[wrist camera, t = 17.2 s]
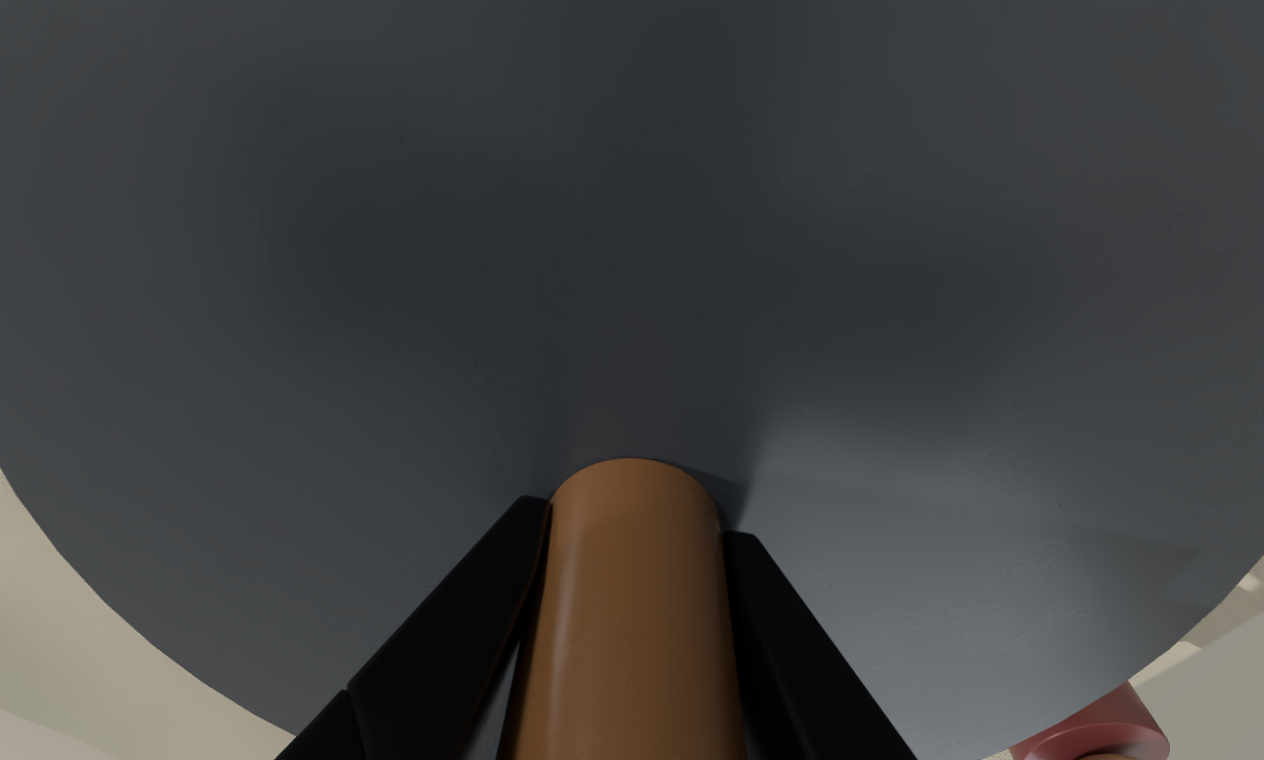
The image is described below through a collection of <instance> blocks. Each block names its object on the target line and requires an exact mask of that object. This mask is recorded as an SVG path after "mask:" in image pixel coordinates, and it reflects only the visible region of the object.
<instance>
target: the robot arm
mask: <svg viewBox="0 0 1264 760" xmlns="http://www.w3.org/2000/svg"><path fill="white" fill-rule="evenodd" d="M550 507H551V502H550V500H548V499H546V498H541V497H535V496H529V495H522V496H520V497H519V498H518V499H516V501H515V502H514V503H513V504H512V505H511V506H510V507H509V508H508V509H507V510H506V511H505V512H504V514H503V515H502V516H501V517H500V518H499V519H498V520H497V521H496V522H495V523H494V524H493V526H492V527H491V528H490V529H489V530H488V531H487V532H486V533H485V534H484V535H483V536H482V537H481V539H480V540H479V541H478V542H477V543H476V544H475V545H474V546H473V547H472V548H471V549H470V550H469V552H468V553H467V554H466V555H465V556H464V557H463V558H462V559H461V560H460V561H459V562H458V563H457V565H456V566H455V567H454V568H453V569H452V570H451V571H450V572H449V573H448V574H447V575H446V576H445V578H444V579H443V580H442V581H441V582H440V583H439V584H438V585H437V586H436V587H435V588H434V589H433V591H432V592H431V593H430V594H429V595H428V596H427V597H426V598H425V599H424V600H423V601H422V602H421V604H420V605H419V606H418V607H417V608H416V609H415V610H414V611H413V612H412V613H411V614H410V616H409V617H408V618H407V619H406V620H405V621H404V622H403V623H402V624H401V625H400V626H399V627H398V629H397V630H396V631H395V632H394V633H393V634H392V635H391V636H390V637H389V638H388V639H387V640H386V642H385V643H384V644H383V645H382V646H381V647H380V648H379V649H378V650H377V651H376V652H375V653H374V655H373V656H372V657H371V658H370V659H369V660H368V661H367V662H366V663H365V664H364V665H363V666H362V668H361V669H360V670H359V671H358V672H357V673H356V674H355V675H354V676H353V677H352V678H351V679H350V681H349V682H348V683H347V684H346V690H345V689H342V690H340V691H339V692H338V693H337V694H336V695H335V696H334V697H333V699H332V700H331V701H330V702H329V703H328V704H327V705H326V706H325V707H324V708H323V709H322V710H321V712H320V713H319V714H318V715H317V716H316V717H315V718H314V719H313V720H312V721H311V722H310V723H309V724H308V725H307V726H306V727H305V728H304V729H303V730H302V731H301V732H300V734H299V735H298V736H297V737H296V738H295V739H294V740H293V741H292V742H291V743H290V744H289V745H288V746H287V747H286V748H285V749H284V750H283V751H282V752H281V753H280V754H279V755H278V756H277V757H276V758H275V759H274V760H490V758H491V754H492V751H493V748H494V745H495V742H496V739H497V736H498V733H499V730H500V727H501V723H502V720H503V717H504V714H505V710H506V705H507V701H508V696H509V691H510V686H511V682H512V677H513V672H514V667H515V663H516V658H517V653H518V648H519V644H520V639H521V634H522V629H523V625H524V621H525V618H526V614H527V611H528V607H529V603H530V600H531V597H532V592H533V588H534V584H535V580H536V575H537V570H538V565H539V560H540V556H541V551H542V546H543V541H544V536H545V531H546V526H547V521H548V517H549V512H550ZM722 545H723V553H724V562H725V570H726V579H727V587H728V596H729V605H730V613H731V622H732V630H733V639H734V647H735V656H736V664H737V673H738V681H739V690H740V698H741V707H742V715H743V724H744V732H745V741H746V750H747V758H748V760H918V759H917V757H916V756H915V755H914V753H913V752H912V750H911V749H910V748H909V746H908V745H907V744H906V742H905V741H904V739H903V738H902V737H901V735H900V734H899V732H898V731H897V730H896V728H895V727H894V726H893V724H892V723H891V721H890V720H889V719H888V717H887V716H886V714H885V713H884V712H883V710H882V709H881V708H880V706H879V705H878V703H877V702H876V701H875V699H874V698H873V696H872V695H871V694H870V692H869V691H868V690H867V688H866V687H865V685H864V684H863V683H862V681H861V680H860V678H859V677H858V676H857V674H856V673H855V672H854V670H853V669H852V667H851V666H850V665H849V663H848V662H847V660H846V659H845V658H844V656H843V655H842V654H841V652H840V651H839V649H838V648H837V647H836V645H835V644H834V642H833V641H832V640H831V638H830V637H829V636H828V634H827V633H826V631H825V630H824V629H823V627H822V626H821V624H820V623H819V622H818V620H817V619H816V618H815V616H814V615H813V613H812V612H811V611H810V609H809V608H808V606H807V605H806V604H805V602H804V601H803V600H802V598H801V597H800V595H799V594H798V593H797V591H796V590H795V588H794V587H793V586H792V584H791V583H790V582H789V580H788V579H787V577H786V576H785V575H784V573H783V572H782V570H781V569H780V568H779V566H778V565H777V564H776V562H775V561H774V559H773V558H772V557H771V555H770V554H769V552H768V551H767V550H766V548H765V547H764V546H763V544H762V543H761V541H760V540H759V539H758V538H757V537H756V536H755V535H754V534H752V533H747V532H741V531H735V530H727V531H725V533H724V534H723V535H722Z"/></svg>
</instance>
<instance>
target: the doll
mask: <svg viewBox="0 0 1264 760" xmlns="http://www.w3.org/2000/svg"><path fill="white" fill-rule="evenodd" d="M1008 749H1009V751H1010V753H1011V755H1012V757H1013V759H1014V760H1166V759H1167V757H1168V755H1169V752H1170V745H1169V742H1168V739H1167V738H1166V736H1165V735H1164V733H1163V732H1162V730H1161V729H1160V728H1159V726H1158V724H1157V723H1156V721H1155V720H1154V718H1153V717H1152V716H1151V714H1150V713H1149V711H1148V710H1147V708H1146V707H1145V705H1144V704H1143V702H1142V701H1141V699H1140V698H1139V696H1138V695H1137V693H1136V692H1135V690H1134V689H1133V687H1132V686H1131V684H1130V683H1129V681H1128V680H1127V681H1126V682H1124V683H1123V684H1121V685H1120V686H1119V687H1117V688H1116V689H1114V690H1113V691H1111V692H1109V693H1108V694H1106V695H1105V696H1103V697H1101V698H1100V699H1098V700H1096V701H1095V702H1093V703H1091V704H1090V705H1088V706H1086V707H1085V708H1083V709H1081V710H1080V711H1078V712H1077V713H1075V714H1073V715H1072V716H1070V717H1068V718H1067V719H1065V720H1063V721H1062V722H1060V723H1058V724H1056V725H1054V726H1052V727H1050V728H1048V729H1046V730H1044V731H1042V732H1040V733H1038V734H1036V735H1034V736H1032V737H1030V738H1028V739H1026V740H1024V741H1022V742H1020V743H1018V744H1016V745H1014V746H1012V747H1010V748H1008Z"/></svg>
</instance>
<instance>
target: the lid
mask: <svg viewBox="0 0 1264 760" xmlns="http://www.w3.org/2000/svg"><path fill="white" fill-rule="evenodd" d="M0 468H1V470H2V472H3V473H4V475H5V477H6V479H7V480H8V482H9V484H10V486H11V487H12V489H13V491H14V492H15V494H16V496H17V497H18V499H19V500H20V501H21V503H22V504H23V505H24V507H25V508H26V509H27V511H28V512H29V513H30V515H31V516H32V517H33V519H34V520H35V521H36V523H37V524H38V525H39V527H40V528H41V529H42V531H43V532H44V533H45V535H46V536H47V538H48V539H49V540H50V542H51V543H52V544H53V546H54V547H55V548H56V550H57V551H58V552H59V553H60V554H61V556H62V557H63V558H64V559H65V560H66V561H67V562H68V563H69V564H70V565H71V566H72V567H73V569H74V570H75V571H76V572H77V573H78V574H79V575H80V576H81V577H82V578H83V579H84V580H85V582H86V583H87V584H88V585H89V586H90V587H91V588H92V589H93V590H94V591H95V592H96V593H97V595H98V596H99V597H100V598H101V599H102V600H103V601H104V602H105V603H106V604H107V605H108V606H109V607H111V608H112V609H113V610H114V611H115V612H116V613H117V614H118V615H119V616H121V617H122V618H123V619H124V620H125V621H126V622H127V623H128V624H130V625H131V626H132V627H133V628H134V629H135V630H136V631H137V632H139V633H140V634H141V635H142V636H143V637H144V638H145V639H146V640H148V641H149V642H150V643H151V644H152V645H153V646H155V647H156V648H157V649H159V650H160V651H161V652H163V653H164V654H165V655H167V656H168V657H169V658H171V659H172V660H173V661H175V662H176V663H177V664H179V665H180V666H181V667H183V668H184V669H185V670H187V671H188V672H189V673H191V674H192V675H193V676H195V677H196V678H198V679H199V680H200V681H202V682H203V683H205V684H206V685H208V686H209V687H211V688H213V689H214V690H216V691H217V692H219V693H221V694H222V695H224V696H225V697H227V698H229V699H230V700H232V701H233V702H235V703H237V704H238V705H240V706H241V707H243V708H245V709H246V710H248V711H249V712H251V713H253V714H254V715H256V716H258V717H260V718H262V719H264V720H266V721H268V722H270V723H272V724H274V725H275V726H277V727H279V728H281V729H283V730H285V731H287V732H289V733H291V734H293V735H295V736H298V735H299V734H300V732H301V731H302V730H303V729H304V728H305V727H306V726H307V725H308V724H309V723H310V722H311V721H312V720H313V719H314V718H315V717H316V716H317V715H318V714H319V713H320V712H321V710H322V709H323V708H324V707H325V706H326V705H327V704H328V703H329V702H330V701H331V700H332V699H333V697H334V696H335V695H336V694H337V693H338V692H339V691H340V690H342V689H345V690H346V684H347V683H348V682H349V681H350V679H351V678H352V677H353V676H354V675H355V674H356V673H357V672H358V671H359V670H360V669H361V668H362V666H363V665H364V664H365V663H366V662H367V661H368V660H369V659H370V658H371V657H372V656H373V655H374V653H375V652H376V651H377V650H378V649H379V648H380V647H381V646H382V645H383V644H384V643H385V642H386V640H387V639H388V638H389V637H390V636H391V635H392V634H393V633H394V632H395V631H396V630H397V629H398V627H399V626H400V625H401V624H402V623H403V622H404V621H405V620H406V619H407V618H408V617H409V616H410V614H411V613H412V612H413V611H414V610H415V609H416V608H417V607H418V606H419V605H420V604H421V602H422V601H423V600H424V599H425V598H426V597H427V596H428V595H429V594H430V593H431V592H432V591H433V589H434V588H435V587H436V586H437V585H438V584H439V583H440V582H441V581H442V580H443V579H444V578H445V576H446V575H447V574H448V573H449V572H450V571H451V570H452V569H453V568H454V567H455V566H456V565H457V563H458V562H459V561H460V560H461V559H462V558H463V557H464V556H465V555H466V554H467V553H468V552H469V550H470V549H471V548H472V547H473V546H474V545H475V544H476V543H477V542H478V541H479V540H480V539H481V537H482V536H483V535H484V534H485V533H486V532H487V531H488V530H489V529H490V528H491V527H492V526H493V524H494V523H495V522H496V521H497V520H498V519H499V518H500V517H501V516H502V515H503V514H504V512H505V511H506V510H507V509H508V508H509V507H510V506H511V505H512V504H513V503H514V502H515V501H516V499H518V498H519V497H520V496H522V495H529V496H535V497H541V498H546V499H548V500H550V502H551V507H550V512H549V517H548V521H547V526H546V531H545V536H544V541H543V546H542V551H541V556H540V560H539V565H538V570H537V575H536V580H535V584H534V588H533V592H532V597H531V600H530V603H529V607H528V611H527V614H526V618H525V621H524V625H523V629H522V634H521V639H520V644H519V648H518V653H517V658H516V663H515V667H514V672H513V677H512V682H511V686H510V691H509V696H508V701H507V705H506V710H505V714H504V717H503V720H502V723H501V727H500V730H499V733H498V736H497V739H496V742H495V745H494V748H493V751H492V754H491V758H490V760H748V758H747V750H746V741H745V732H744V724H743V715H742V707H741V698H740V690H739V681H738V673H737V664H736V656H735V647H734V639H733V630H732V622H731V613H730V605H729V596H728V587H727V579H726V570H725V562H724V553H723V545H722V535H723V534H724V533H725V531H727V530H735V531H741V532H747V533H752V534H754V535H755V536H756V537H757V538H758V539H759V540H760V541H761V543H762V544H763V546H764V547H765V548H766V550H767V551H768V552H769V554H770V555H771V557H772V558H773V559H774V561H775V562H776V564H777V565H778V566H779V568H780V569H781V570H782V572H783V573H784V575H785V576H786V577H787V579H788V580H789V582H790V583H791V584H792V586H793V587H794V588H795V590H796V591H797V593H798V594H799V595H800V597H801V598H802V600H803V601H804V602H805V604H806V605H807V606H808V608H809V609H810V611H811V612H812V613H813V615H814V616H815V618H816V619H817V620H818V622H819V623H820V624H821V626H822V627H823V629H824V630H825V631H826V633H827V634H828V636H829V637H830V638H831V640H832V641H833V642H834V644H835V645H836V647H837V648H838V649H839V651H840V652H841V654H842V655H843V656H844V658H845V659H846V660H847V662H848V663H849V665H850V666H851V667H852V669H853V670H854V672H855V673H856V674H857V676H858V677H859V678H860V680H861V681H862V683H863V684H864V685H865V687H866V688H867V690H868V691H869V692H870V694H871V695H872V696H873V698H874V699H875V701H876V702H877V703H878V705H879V706H880V708H881V709H882V710H883V712H884V713H885V714H886V716H887V717H888V719H889V720H890V721H891V723H892V724H893V726H894V727H895V728H896V730H897V731H898V732H899V734H900V735H901V737H902V738H903V739H904V741H905V742H906V744H907V745H908V746H909V748H910V749H911V750H912V752H913V753H914V755H915V756H916V757H917V759H918V760H981V759H983V758H986V757H988V756H991V755H993V754H996V753H998V752H1001V751H1003V750H1006V749H1008V748H1010V747H1012V746H1014V745H1016V744H1018V743H1020V742H1022V741H1024V740H1026V739H1028V738H1030V737H1032V736H1034V735H1036V734H1038V733H1040V732H1042V731H1044V730H1046V729H1048V728H1050V727H1052V726H1054V725H1056V724H1058V723H1060V722H1062V721H1063V720H1065V719H1067V718H1068V717H1070V716H1072V715H1073V714H1075V713H1077V712H1078V711H1080V710H1081V709H1083V708H1085V707H1086V706H1088V705H1090V704H1091V703H1093V702H1095V701H1096V700H1098V699H1100V698H1101V697H1103V696H1105V695H1106V694H1108V693H1109V692H1111V691H1113V690H1114V689H1116V688H1117V687H1119V686H1120V685H1121V684H1123V683H1124V682H1126V681H1127V680H1128V679H1130V678H1131V677H1132V676H1134V675H1135V674H1136V673H1138V672H1139V671H1140V670H1142V669H1143V668H1144V667H1146V666H1147V665H1149V664H1150V663H1151V662H1153V661H1154V660H1155V659H1157V658H1158V657H1159V656H1161V655H1162V654H1163V653H1165V652H1166V651H1167V650H1169V649H1170V648H1171V647H1172V646H1173V645H1175V644H1176V643H1177V642H1178V641H1179V640H1180V639H1181V638H1182V637H1183V636H1184V635H1186V634H1187V633H1188V632H1189V631H1190V630H1191V629H1192V628H1193V627H1194V626H1196V625H1197V624H1198V623H1199V622H1200V621H1201V620H1202V619H1203V618H1204V617H1206V616H1207V615H1208V614H1209V613H1210V612H1211V611H1212V610H1213V609H1214V608H1215V607H1217V606H1218V605H1219V604H1220V603H1221V602H1222V601H1223V600H1224V599H1225V598H1226V596H1227V595H1228V594H1229V593H1230V592H1231V591H1232V590H1233V589H1234V588H1235V586H1236V585H1237V584H1238V583H1239V582H1240V581H1241V580H1242V579H1243V577H1244V576H1245V575H1246V574H1247V573H1248V572H1249V571H1250V570H1251V568H1252V567H1253V566H1254V565H1255V564H1256V563H1257V562H1258V561H1259V559H1260V558H1261V557H1262V556H1263V555H1264V0H0Z"/></svg>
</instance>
